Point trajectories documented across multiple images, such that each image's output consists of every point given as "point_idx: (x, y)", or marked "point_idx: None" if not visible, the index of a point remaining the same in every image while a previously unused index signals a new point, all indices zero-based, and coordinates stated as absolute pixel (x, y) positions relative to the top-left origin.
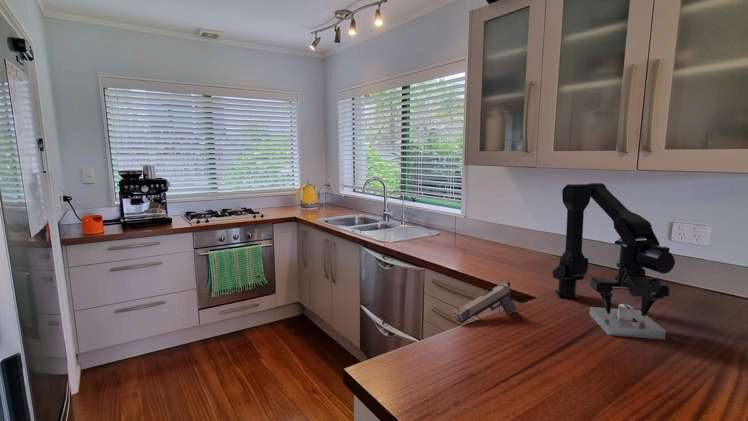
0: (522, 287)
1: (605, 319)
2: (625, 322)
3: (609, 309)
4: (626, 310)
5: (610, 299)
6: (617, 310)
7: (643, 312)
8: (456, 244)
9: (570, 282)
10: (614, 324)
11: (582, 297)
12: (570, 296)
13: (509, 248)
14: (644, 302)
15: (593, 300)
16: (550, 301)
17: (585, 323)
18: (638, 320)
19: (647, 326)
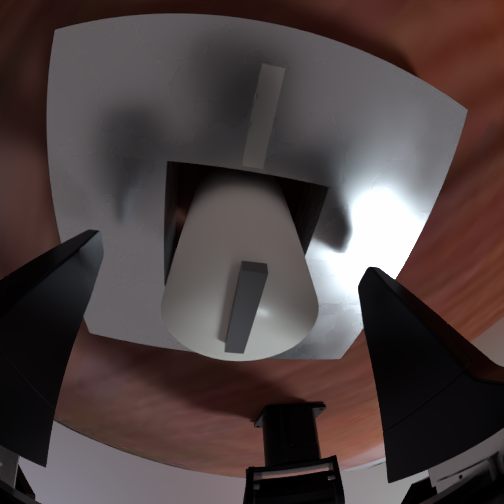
0: (365, 419)
1: (411, 216)
2: (301, 155)
3: (396, 289)
4: (283, 254)
5: (464, 362)
6: None
7: (85, 254)
8: (321, 470)
9: (304, 456)
10: (419, 130)
11: (243, 411)
12: (299, 411)
13: None
14: (43, 344)
15: (219, 402)
16: (374, 383)
17: (429, 240)
18: (151, 199)
19: (144, 78)
